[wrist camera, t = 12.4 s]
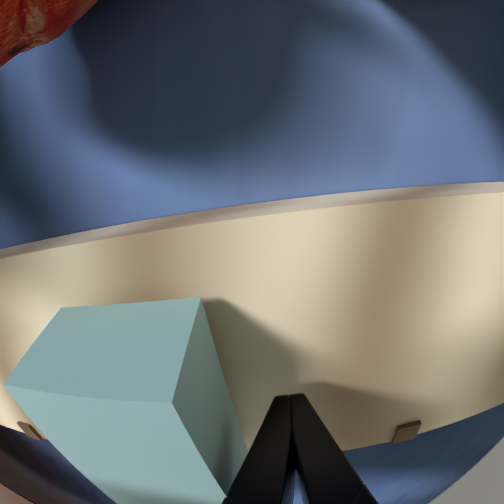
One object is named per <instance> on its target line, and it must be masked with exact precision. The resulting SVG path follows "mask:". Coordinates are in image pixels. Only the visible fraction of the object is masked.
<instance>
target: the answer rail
mask: <svg viewBox="0 0 504 504" xmlns="http://www.w3.org/2000/svg"><path fill="white" fill-rule="evenodd" d="M194 297H201V298H202V302H203V306H204V309H205V313H206V317H207V320H208V324H209V327H210V331H211V334H212V338H213V341H214V345H215V348H216V352H217V355H218V359H219V362H220V365H221V369H222V372H223V375H224V378H225V382H226V385H227V388H228V391H229V394H230V398H231V401H232V404H233V407H234V410H235V413H236V416H237V419H238V422H239V425H240V428H241V431H242V434H243V437H244V440H245V443H246V446H247V449H248V452H249V450H250V448H251V445H252V443H253V441H254V439H255V437H256V435H257V433H258V431H259V429H260V427H261V425H262V422H263V420H264V418H265V416H266V414H267V412H268V410H269V407H270V405H271V403H272V401H273V399H274V397H275V396H277V395H290V394H296V393H304V394H305V395H306V397H307V398H308V400H309V401H310V403H311V405H312V406H313V408H314V409H315V411H316V412H317V414H318V415H319V417H320V418H321V420H322V421H323V423H324V425H325V426H326V428H327V429H328V431H329V432H330V434H331V435H332V437H333V438H334V440H335V441H336V443H337V444H338V446H339V447H340V449H341V450H342V451H346V450H352V449H357V448H362V447H367V446H372V445H377V444H381V443H386V442H390V441H392V443H393V445H394V444H398V443H402V442H405V441H409V440H413V439H415V438H416V435H417V434H420V433H423V432H427V431H430V430H433V429H436V428H440V427H443V426H446V425H449V424H452V423H454V422H457V421H460V420H463V419H466V418H468V417H471V416H473V415H476V414H479V413H481V412H484V411H486V410H488V409H491V408H493V407H495V406H498V405H500V404H502V403H504V182H481V183H462V184H445V185H429V186H416V187H403V188H391V189H379V190H368V191H358V192H347V193H338V194H328V195H319V196H310V197H302V198H293V199H285V200H277V201H269V202H261V203H254V204H246V205H239V206H232V207H225V208H218V209H211V210H204V211H198V212H191V213H185V214H179V215H172V216H166V217H160V218H154V219H148V220H143V221H137V222H131V223H126V224H120V225H115V226H109V227H104V228H99V229H93V230H88V231H83V232H78V233H73V234H68V235H63V236H58V237H53V238H49V239H44V240H39V241H35V242H30V243H26V244H21V245H17V246H12V247H8V248H4V249H0V425H3V426H6V427H8V428H11V429H14V430H18V431H21V432H24V433H26V434H27V436H28V437H31V438H34V439H37V440H41V439H42V438H45V439H47V438H46V437H45V435H44V434H43V433H42V432H41V431H40V430H39V429H38V427H37V426H36V425H35V424H34V423H33V422H32V420H31V419H30V418H29V417H28V416H27V414H26V413H25V412H24V411H23V409H22V408H21V407H20V406H19V404H18V403H17V402H16V401H15V399H14V398H13V397H12V395H11V394H10V393H9V391H8V390H7V388H6V387H5V386H4V383H5V381H6V380H7V378H8V377H9V376H10V374H11V373H12V371H13V370H14V368H15V367H16V366H17V364H18V363H19V362H20V360H21V359H22V357H23V356H24V355H25V353H26V352H27V351H28V349H29V348H30V347H31V345H32V344H33V343H34V341H35V340H36V339H37V337H38V336H39V335H40V334H41V332H42V331H43V330H44V328H45V327H46V326H47V325H48V323H49V322H50V321H51V320H52V318H53V317H54V316H55V315H56V313H57V312H58V311H59V310H60V308H62V307H80V306H95V305H110V304H124V303H137V302H149V301H161V300H173V299H184V298H194Z"/></svg>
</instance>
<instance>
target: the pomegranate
mask: <svg viewBox="0 0 504 504" xmlns="http://www.w3.org/2000/svg"><path fill="white" fill-rule="evenodd" d="M98 1H99V0H0V67H1V66H3V65H4V64H5V63H6V62H8V61H9V60H10V59H12V58H13V57H14V56H16V55H17V54H18V53H21V52H25V51H28V50H30V49H32V48H34V47H36V46H40V45H43V44H46V43H48V42H50V41H52V40H54V39H55V38H57V37H59V36H60V35H61V34H63V33H64V32H65V31H66V30H68V29H69V28H70V27H71V26H72V25H74V24H75V23H76V22H77V21H78V20H79V19H80V18H81V17H82V16H83V15H84V14H85V13H86V12H87V11H88V10H89V9H90V8H91V7H93V6H94V5H95V4H96V3H97V2H98Z"/></svg>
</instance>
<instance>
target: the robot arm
mask: <svg viewBox="0 0 504 504" xmlns="http://www.w3.org/2000/svg"><path fill="white" fill-rule="evenodd" d="M296 472H297V476H298V481H299V485H300V490H301V494H302V499H303V503H304V504H379V503H378V502H377V501H376V499H375V498H374V497H373V495H372V494H371V493H370V491H369V490H368V488H367V487H366V485H365V484H363V481H362V480H361V478H360V477H359V475H358V474H357V472H356V471H355V470H354V468H353V467H352V465H351V464H350V462H349V461H348V459H347V458H346V456H345V455H344V453H343V452H342V450H341V449H340V447H339V446H338V444H337V443H336V441H335V440H334V438H333V437H332V435H331V434H330V432H329V431H328V429H327V428H326V426H325V425H324V423H323V421H322V420H321V418H320V417H319V415H318V414H317V412H316V411H315V409H314V408H313V406H312V405H311V403H310V401H309V400H308V398H307V397H306V395H305V394H304V393H296V394H290V395H277V396H275V397H274V399H273V401H272V403H271V405H270V407H269V410H268V412H267V414H266V416H265V418H264V420H263V422H262V425H261V427H260V429H259V431H258V433H257V435H256V437H255V439H254V441H253V443H252V445H251V448H250V450H249V452H248V454H247V456H246V458H245V460H244V462H243V464H242V466H241V468H240V470H239V471H238V473H237V475H236V477H235V479H234V481H233V483H232V485H231V487H230V489H229V491H228V493H227V494H226V496H227V497H225V498H224V500H223V502H222V503H221V504H293V498H294V486H295V473H296Z"/></svg>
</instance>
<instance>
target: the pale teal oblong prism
mask: <svg viewBox="0 0 504 504" xmlns="http://www.w3.org/2000/svg"><path fill="white" fill-rule="evenodd" d="M4 386H5V387H6V388H7V390H8V391H9V393H10V394H11V395H12V397H13V398H14V399H15V401H16V402H17V403H18V404H19V406H20V407H21V408H22V409H23V411H24V412H25V413H26V414H27V416H28V417H29V418H30V419H31V420H32V422H33V423H34V424H35V425H36V426H37V427H38V429H39V430H40V431H41V432H42V433H43V434H44V435H45V437H46V438H47V439H48V440H49V441H50V442H51V443H52V444H53V445H54V446H55V447H56V448H57V449H58V450H59V451H60V453H61V454H62V455H63V456H64V457H65V458H66V459H67V460H68V461H69V462H70V463H72V464H73V465H74V466H75V467H76V468H77V469H78V470H79V471H80V472H81V473H82V474H83V475H84V476H85V477H86V478H88V479H89V480H90V481H91V482H92V483H93V484H94V485H95V486H97V487H98V488H99V489H100V490H101V491H102V492H104V493H105V494H106V495H107V496H108V497H110V498H111V499H112V500H113V501H115V502H116V503H117V504H221V503H222V502H223V500H224V498H225V497H227V496H226V494H227V493H228V491H229V489H230V487H231V485H232V483H233V481H234V479H235V477H236V475H237V473H238V471H239V470H240V468H241V466H242V464H243V462H244V460H245V458H246V456H247V454H248V449H247V446H246V443H245V440H244V437H243V434H242V431H241V428H240V425H239V422H238V419H237V416H236V413H235V410H234V407H233V404H232V401H231V398H230V394H229V391H228V388H227V385H226V382H225V378H224V375H223V372H222V369H221V365H220V362H219V359H218V355H217V352H216V348H215V345H214V341H213V338H212V334H211V331H210V327H209V324H208V320H207V317H206V313H205V309H204V306H203V302H202V298H201V297H194V298H184V299H173V300H161V301H149V302H137V303H124V304H110V305H95V306H80V307H62V308H60V310H59V311H58V312H57V313H56V315H55V316H54V317H53V318H52V320H51V321H50V322H49V323H48V325H47V326H46V327H45V328H44V330H43V331H42V332H41V334H40V335H39V336H38V337H37V339H36V340H35V341H34V343H33V344H32V345H31V347H30V348H29V349H28V351H27V352H26V353H25V355H24V356H23V357H22V359H21V360H20V362H19V363H18V364H17V366H16V367H15V368H14V370H13V371H12V373H11V374H10V376H9V377H8V378H7V380H6V381H5V383H4Z"/></svg>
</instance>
